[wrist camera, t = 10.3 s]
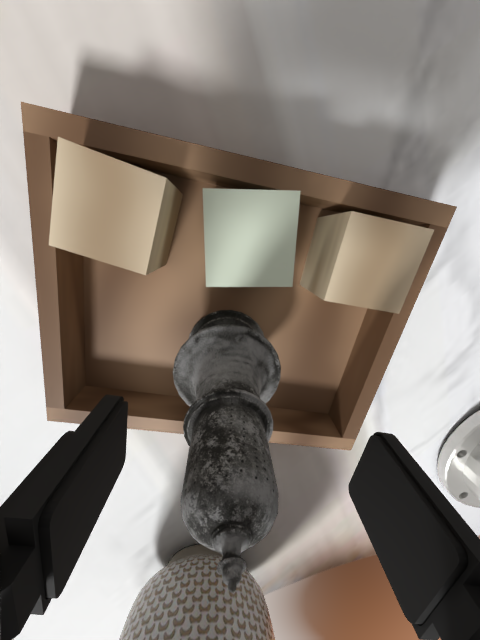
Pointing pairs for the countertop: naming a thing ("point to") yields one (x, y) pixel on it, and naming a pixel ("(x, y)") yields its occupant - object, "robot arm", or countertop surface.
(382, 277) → the cube
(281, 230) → the cube
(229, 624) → the planter
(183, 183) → the tray
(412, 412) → the countertop surface
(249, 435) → the salt shaker
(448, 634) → the robot arm
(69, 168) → the cube
